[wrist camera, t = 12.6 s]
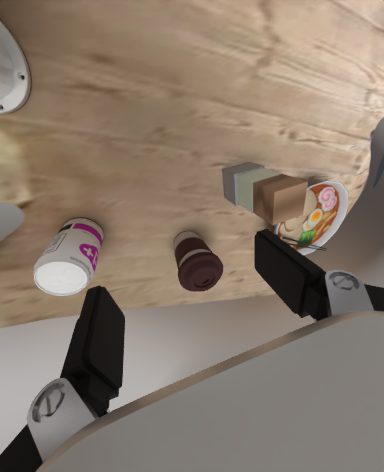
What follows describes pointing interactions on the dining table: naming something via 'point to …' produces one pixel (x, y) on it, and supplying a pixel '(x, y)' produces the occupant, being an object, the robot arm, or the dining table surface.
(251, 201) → the tower mid
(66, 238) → the supplement can
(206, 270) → the coffee cup
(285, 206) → the walnut cube
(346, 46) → the dining table surface
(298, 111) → the dining table surface
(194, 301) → the dining table surface
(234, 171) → the tower base
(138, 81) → the dining table surface
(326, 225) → the ramen bowl
